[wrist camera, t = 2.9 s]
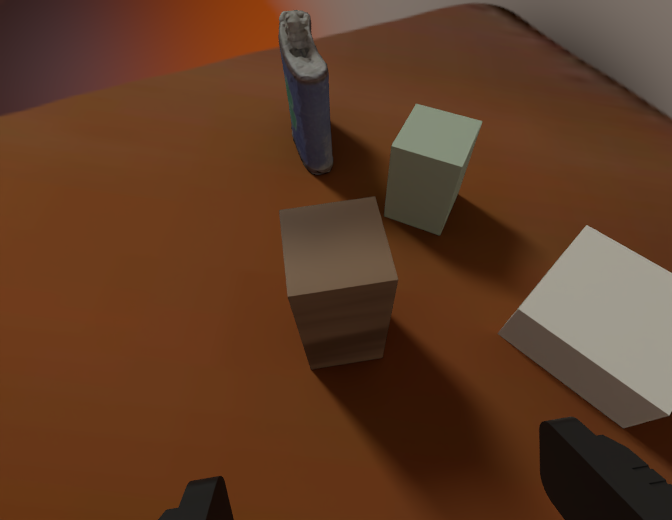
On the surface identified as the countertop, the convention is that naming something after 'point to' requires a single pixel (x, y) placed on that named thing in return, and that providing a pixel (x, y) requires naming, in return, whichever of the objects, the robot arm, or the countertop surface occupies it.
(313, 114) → the flask
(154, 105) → the countertop surface
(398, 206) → the sage block
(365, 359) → the walnut pillar
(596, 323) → the base block
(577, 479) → the robot arm
